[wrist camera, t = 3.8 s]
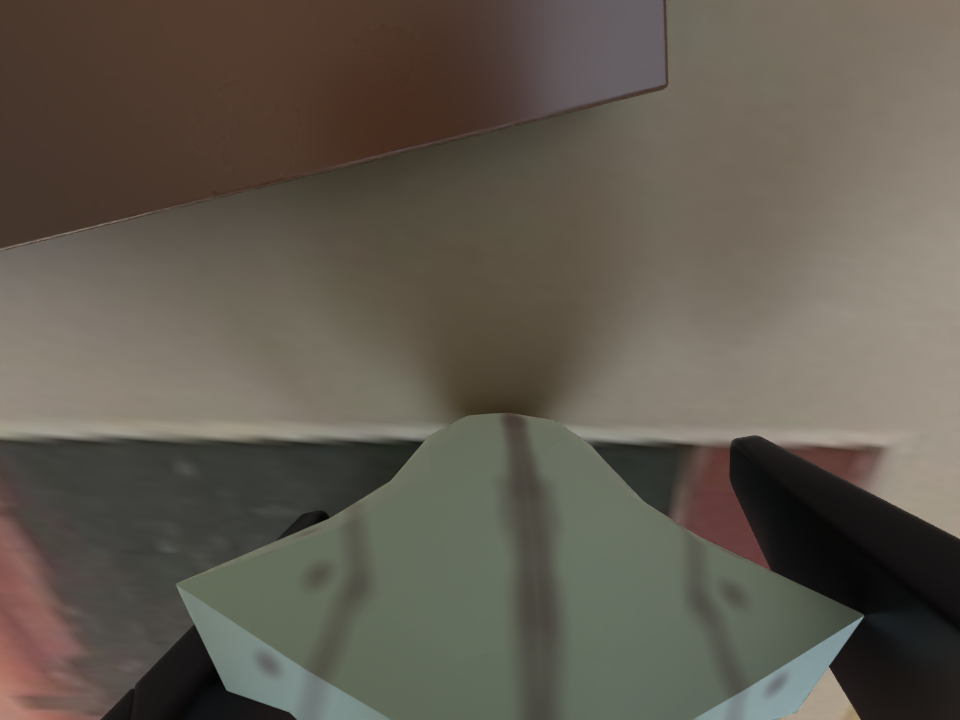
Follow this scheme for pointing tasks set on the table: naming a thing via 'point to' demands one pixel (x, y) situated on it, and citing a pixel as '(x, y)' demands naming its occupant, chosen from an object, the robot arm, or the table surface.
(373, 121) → the walnut board
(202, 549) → the table surface
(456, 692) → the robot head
